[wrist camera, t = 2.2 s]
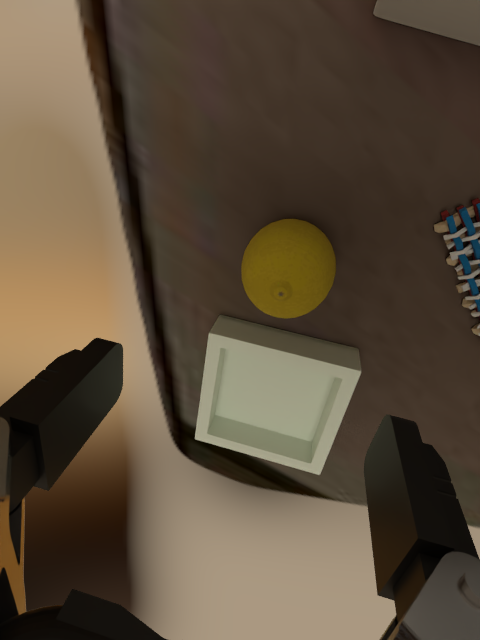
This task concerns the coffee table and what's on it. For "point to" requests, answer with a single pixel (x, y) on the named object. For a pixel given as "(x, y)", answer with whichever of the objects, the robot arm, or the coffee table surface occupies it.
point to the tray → (274, 392)
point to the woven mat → (464, 252)
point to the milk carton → (435, 16)
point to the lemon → (288, 268)
